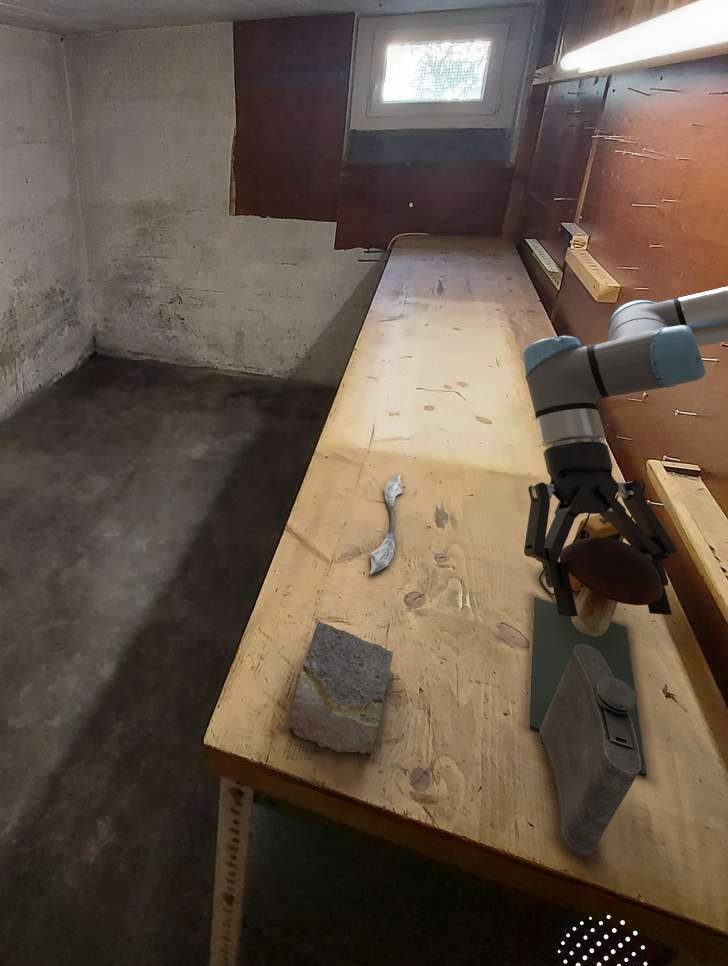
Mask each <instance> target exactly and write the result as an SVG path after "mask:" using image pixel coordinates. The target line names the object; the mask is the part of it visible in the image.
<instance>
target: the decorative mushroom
mask: <svg viewBox="0 0 728 966" xmlns="http://www.w3.org/2000/svg"><path fill="white" fill-rule="evenodd" d="M572 542H573V541H572ZM572 542H570V544H568V545H566V546H565V547H563V549H562V552H561V554H560V556H559V562H566V565H567V569H568V572H569V573H570V574H571V575H572V576H573V577H575V578H576V579H577V580H578V581H579V582H580V583H581V584H583V585H584V586H583V588H582V589H580V590H579V593H578V595H577V596H576V599H575V605H576V610H577V614H578V616H571V619H572V622H573V624H574V626H575V628H576V629H578V630H579V631H580V632H582V633H583V634H586V635H589V636H595V637H597V636H600V635H602V634H604V633H605V632H606V631H607V629H608V627H609V625H610V623H611V622H613V618H614V614H615V611H616V607H617V603H619V604H624V605H631V606H648V605H649V604H652V603H655V602H657V601H658V600H659V599H660V598H661V597H662V595H663V585H662V581H661V578H660V575H659V572H658V571H657V569H656V567H655V566H654V564H653V563H652V561H651V560H650V559H649V558H648V557H647V556H646V555H644V554H643V553H642V552H641V551H639V550H638V549H636V548H634V547H633V546H631V545H630V544H629V543H628V542H625V541H619V540H615V539H612V538H606V537H592V538H585V539H581V540H578V541H575V542H573V543H572Z"/></svg>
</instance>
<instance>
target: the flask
mask: <svg viewBox="0 0 728 966" xmlns="http://www.w3.org/2000/svg"><path fill="white" fill-rule="evenodd" d="M636 702H637V703H638V697H637V694H636V691H635V692H634V691H633V690H632V688H631V687H630V686H629V685H627V684H626V683H625V682H623V681H622V680H619V679H617V678H615V677H614V676H613V674H612V672H611V670H610V668H609V666H608V665H607V663H606V661H605V660H604V658H603V656H602V655H601V654H600V653H599V652H598V651H597V650H596V649H594V648H593V647H591V646H588V645H585V644H579V645H576V646H575V647H574V649H573V652H572V654H571V657H570V659H569V661H568V664H567V666H566V669H565V671H564V673H563V676H562V678H561V681H560V683H559V685H558V688H557V690H556V693H555V695H554V697H553V700H552V702H551V705H550V707H549V709H548V712H547V714H546V717H545V719H544V721H543V724H542V726H541V729H540V731H539V737H540V740H541V742H542V744H543V746H544V749H545V752H546V755H547V757H548V761H549V764H550V767H551V771H552V775H553V779H554V782H555V788H556V792H557V798H558V805H559V806H558V807H559V814H560V837H561V840H562V842H563V844H564V845H565V847H566V848H567V850H569V851H570V852H571V853H572V854H574V855H576V856H577V857H580V858H588V857H590V856H591V855H592V854H593V852H594V850H595V848H596V846H597V845H598V843H599V841H600V840H601V838H602V837H603V835H604V833H605V831H606V829H607V828H608V826H609V825H610V823H611V821H612V819H613V818H614V816H615V814H616V813H617V811H618V809H619V808H620V806H621V804H622V802H623V801H624V799H625V798H626V795H627V794H628V792H629V790H630V789H631V787H632V785H633V783H634V782H635V780H636V779H637V776H638V775H639V774H640V773H639V772H640V769H641V761H640V754H639V748H638V743H637V738H636V734H635V730H634V727H633V723H632V720H631V717H630V714H629V711H630V710H631V709H633V707H634V705H635V704H636ZM628 710H629V711H628Z"/></svg>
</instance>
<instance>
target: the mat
mask: <svg viewBox="0 0 728 966" xmlns="http://www.w3.org/2000/svg"><path fill="white" fill-rule="evenodd" d="M533 607H534V608H533V609H534V610H533V632H532V633H533V634H532V655H531V656H532V658H531V683H530V684H531V685H530V707H529V709H530V710H529V711H530V712H529V728H532V729H533V730H535V731H540V729H541V726H542V724H543V721H544V719H545V717H546V714H547V712H548V709H549V707H550V705H551V702H552V700H553V697H554V695H555V693H556V690H557V688H558V685H559V683H560V681H561V678H562V676H563V673H564V671H565V669H566V666H567V664H568V661H569V659H570V657H571V654H572V652H573V649H574V647H575V646H576V645H579V644H585V645H588V646H591V647H593V648H594V649H596V650H597V651H598V652H599V653H600V654H601V655H602V656H603V658H604V660H605V661H606V663H607V665H608V666H609V668H610V670H611V672H612V674H613V676H614V677H615V678H617V679H619V680H622V681H623V682H625V683H626V684H627V685H629V686H630V687H631V688H632V690H633V691H634V692H635V693H636V688H635V681H634V674H633V666H632V659H631V651H630V644H629V637H628V627H627V626H626V625H622V624H619V623H617V622H613V621H611V623H610V625H609V627H608V629H607V631H606V632H605V633H604V634H602V635H600V636H597V637H595V636H589V635H586V634H583V633H582V632H580V631H579V630H578V629H576V628H575V626H574V624H573V622H572V619H571V616H564V615H559V613H558V609H557V604H556V602H552V601H550V600H546V599H543V598H540V597H537V596H534V606H533ZM637 703H638V701H637V702H636V704H635V705H634V707H633V709H631V710H630V711H629V710H628V711H629V714H630V717H631V720H632V723H633V727H634V730H635V734H636V738H637V743H638V748H639V754H640V761H641V769H640V772H639V773H638V774H641V775H643V776H646V775H647V769H646V761H645V756H644V755H645V754H644V747H643V740H642V732H641V725H640V718H639V711H638V704H637Z"/></svg>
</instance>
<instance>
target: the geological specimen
mask: <svg viewBox="0 0 728 966" xmlns="http://www.w3.org/2000/svg"><path fill="white" fill-rule="evenodd" d="M316 621H317V622H316V625H315V628H314V630H313V634H312V637H311V640H310V643H309V647H308V650H307V653H306V656H305V660H304V662H303V665H302V666H303V667H302V670H301V672H300V675H299V679H298V682H297V686H296V691H295V694H294V699H293V703H292V709H291V713H290V720H289V724H288V730H290V731H292V732H293V733H294V735H295V736H297V737H299V738H301V739H303V740H304V741H310V742H313V743H316V744H317V746H318V747H319V748H323V749H324V748H329V749H331V750H332V751H334V752H337V753H343V752H346V753H360V754H362V755H365V754H369V755H370V756H372V755H373V751H374V745H375V742H376V739H377V735H378V732H379V731H378V730H379V726H380V721H381V717H382V711H383V706H384V701H385V695H386V689H387V686H388V682H389V681H388V680H389V677H390V676H389V675H390V671H391V666H392V661H393V656H394V651H391V650H388V649H387V648H385V647H383V646H381V645H380V644H378V643H373V642H369V641H367V640H364V639H362V638H360V637H358V636H357V635H355V634H352V633H351V632H348V631H346V630H345V629H344V630H343V629H339V628H336V627H334V626H333V625H331V624H328V623H324V622H322V621H320V620H316Z"/></svg>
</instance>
